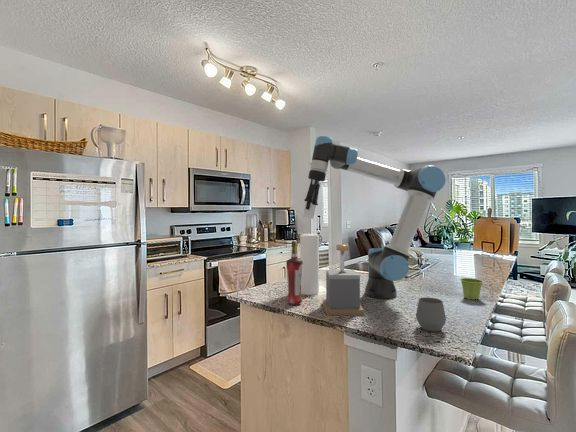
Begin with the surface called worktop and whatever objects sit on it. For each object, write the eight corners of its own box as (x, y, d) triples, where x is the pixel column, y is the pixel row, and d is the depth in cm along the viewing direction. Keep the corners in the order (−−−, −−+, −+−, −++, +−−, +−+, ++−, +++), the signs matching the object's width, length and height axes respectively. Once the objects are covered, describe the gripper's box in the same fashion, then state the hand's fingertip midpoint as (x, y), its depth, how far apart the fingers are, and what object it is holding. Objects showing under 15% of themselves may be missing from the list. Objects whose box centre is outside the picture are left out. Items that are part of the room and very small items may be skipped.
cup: (416, 331, 103) (416, 302, 103) (415, 322, 112) (415, 295, 112) (447, 335, 100) (447, 305, 100) (444, 326, 108) (444, 298, 108)
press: (356, 303, 135) (356, 269, 135) (364, 314, 120) (364, 276, 120) (322, 303, 135) (322, 269, 135) (326, 315, 120) (326, 276, 120)
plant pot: (485, 298, 144) (485, 280, 144) (480, 302, 137) (480, 283, 137) (462, 294, 150) (463, 277, 150) (457, 298, 143) (457, 280, 143)
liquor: (291, 300, 141) (290, 240, 141) (305, 302, 138) (305, 240, 137) (283, 304, 134) (283, 241, 134) (298, 306, 131) (298, 242, 131)
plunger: (350, 280, 132) (350, 244, 132) (354, 285, 123) (354, 246, 123) (330, 280, 132) (330, 244, 132) (333, 285, 124) (333, 246, 123)
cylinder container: (318, 290, 159) (318, 233, 159) (318, 295, 150) (318, 234, 150) (300, 290, 160) (300, 233, 160) (299, 294, 151) (299, 234, 151)
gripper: (313, 174, 149) (304, 217, 149) (305, 164, 125) (295, 214, 125) (328, 177, 147) (319, 220, 147) (323, 167, 123) (313, 218, 123)
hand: (308, 217), depth 136 cm, fingers open, 13 cm apart
